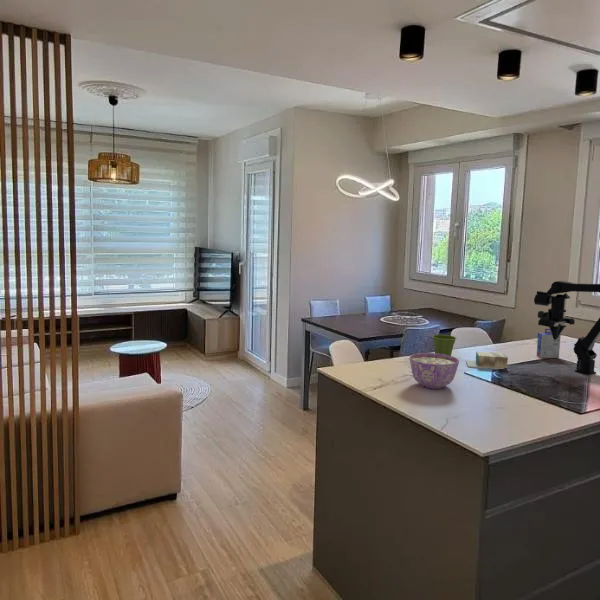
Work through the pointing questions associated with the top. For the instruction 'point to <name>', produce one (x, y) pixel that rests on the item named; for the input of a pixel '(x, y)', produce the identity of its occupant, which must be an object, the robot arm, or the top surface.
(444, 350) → the plant pot
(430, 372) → the bowl of food
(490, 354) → the oak block
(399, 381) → the top surface
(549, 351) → the ink cartridge box
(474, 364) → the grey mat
